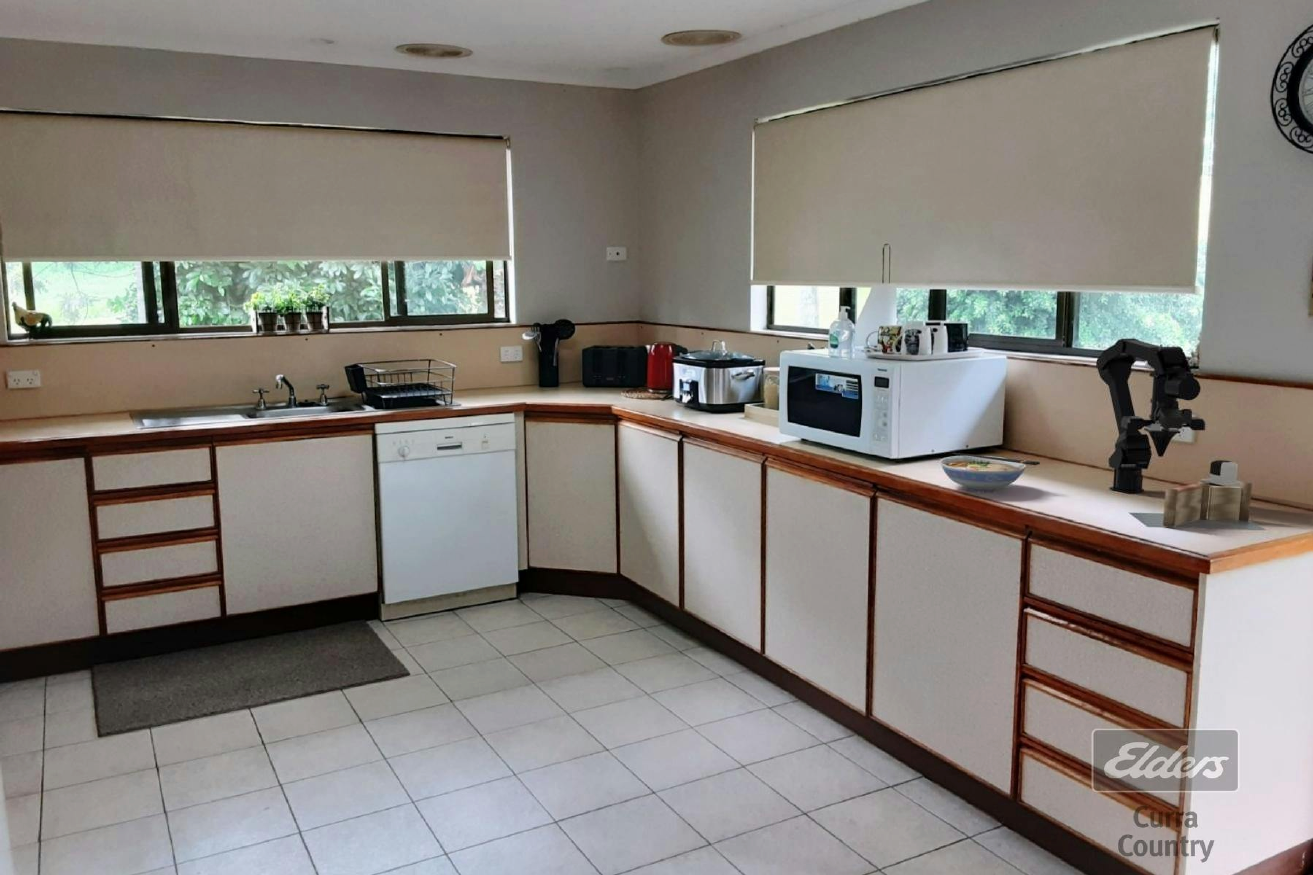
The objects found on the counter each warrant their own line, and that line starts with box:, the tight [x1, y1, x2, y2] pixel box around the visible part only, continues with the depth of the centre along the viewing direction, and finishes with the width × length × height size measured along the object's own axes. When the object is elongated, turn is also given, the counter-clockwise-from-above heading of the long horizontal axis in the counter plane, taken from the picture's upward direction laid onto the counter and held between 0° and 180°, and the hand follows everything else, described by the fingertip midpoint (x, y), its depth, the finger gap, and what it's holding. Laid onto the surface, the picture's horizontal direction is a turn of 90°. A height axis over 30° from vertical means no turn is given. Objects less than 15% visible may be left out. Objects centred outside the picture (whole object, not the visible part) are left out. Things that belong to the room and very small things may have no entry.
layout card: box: [1128, 512, 1267, 531], centre depth 245 cm, size 26×14×1 cm, turn 83°
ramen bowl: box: [939, 452, 1041, 493], centre depth 282 cm, size 25×23×8 cm
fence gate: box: [1163, 483, 1203, 527], centre depth 241 cm, size 13×2×9 cm, turn 123°
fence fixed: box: [1197, 480, 1253, 521], centre depth 245 cm, size 12×2×9 cm, turn 83°
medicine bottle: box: [1200, 459, 1243, 508], centre depth 258 cm, size 7×7×12 cm
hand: (1160, 456), depth 263 cm, fingers closed
